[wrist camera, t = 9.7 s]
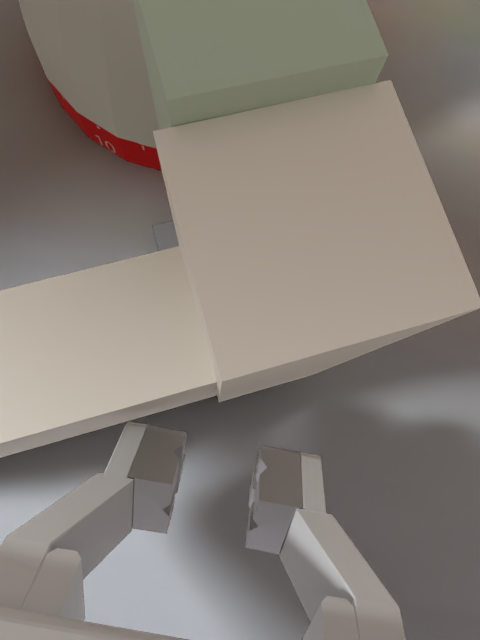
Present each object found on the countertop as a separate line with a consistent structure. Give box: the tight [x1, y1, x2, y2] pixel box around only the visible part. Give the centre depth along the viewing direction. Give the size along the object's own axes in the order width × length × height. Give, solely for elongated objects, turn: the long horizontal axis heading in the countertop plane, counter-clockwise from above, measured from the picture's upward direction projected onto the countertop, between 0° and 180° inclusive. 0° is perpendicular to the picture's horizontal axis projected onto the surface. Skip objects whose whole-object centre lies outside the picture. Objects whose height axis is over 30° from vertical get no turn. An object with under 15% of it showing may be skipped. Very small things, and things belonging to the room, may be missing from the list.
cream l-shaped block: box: [0, 80, 480, 458], centre depth 10 cm, size 16×4×10 cm, turn 106°
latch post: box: [133, 0, 389, 251], centre depth 12 cm, size 5×5×12 cm
